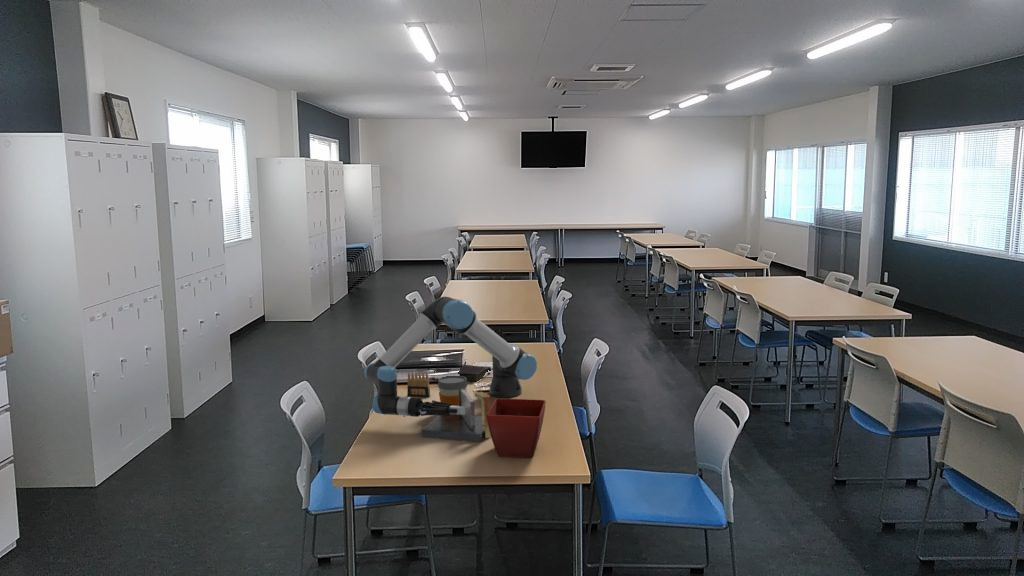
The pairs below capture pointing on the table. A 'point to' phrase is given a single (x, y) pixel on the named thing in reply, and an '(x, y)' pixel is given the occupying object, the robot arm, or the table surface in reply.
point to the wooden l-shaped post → (484, 412)
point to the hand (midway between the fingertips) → (465, 410)
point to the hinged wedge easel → (469, 403)
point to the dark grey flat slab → (454, 428)
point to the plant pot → (516, 426)
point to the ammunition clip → (418, 385)
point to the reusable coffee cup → (451, 389)
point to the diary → (469, 372)
